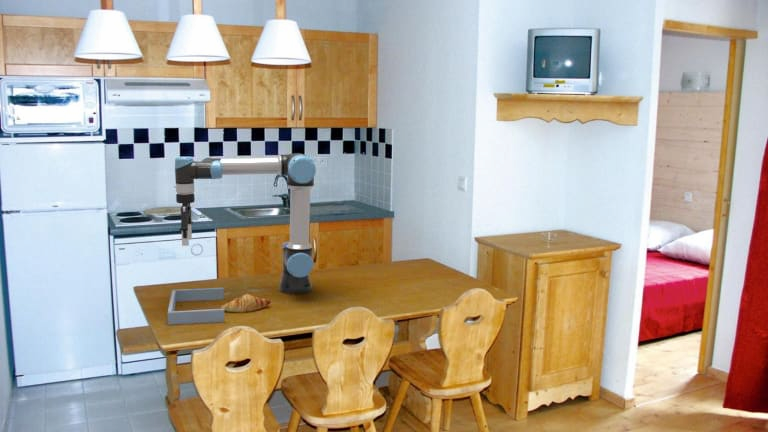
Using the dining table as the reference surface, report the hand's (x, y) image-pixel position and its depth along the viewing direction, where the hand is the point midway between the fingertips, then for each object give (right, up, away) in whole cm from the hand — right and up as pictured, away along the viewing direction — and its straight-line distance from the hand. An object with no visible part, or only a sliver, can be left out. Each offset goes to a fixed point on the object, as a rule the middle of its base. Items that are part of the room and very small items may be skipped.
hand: (187, 242), depth 302 cm
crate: (+6, -29, -5) cm, 30 cm away
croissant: (+26, -29, -1) cm, 39 cm away
